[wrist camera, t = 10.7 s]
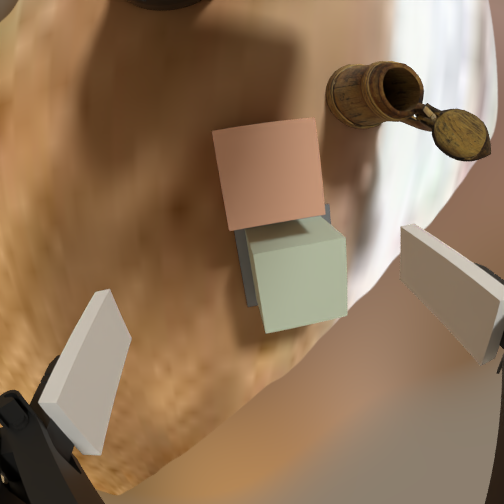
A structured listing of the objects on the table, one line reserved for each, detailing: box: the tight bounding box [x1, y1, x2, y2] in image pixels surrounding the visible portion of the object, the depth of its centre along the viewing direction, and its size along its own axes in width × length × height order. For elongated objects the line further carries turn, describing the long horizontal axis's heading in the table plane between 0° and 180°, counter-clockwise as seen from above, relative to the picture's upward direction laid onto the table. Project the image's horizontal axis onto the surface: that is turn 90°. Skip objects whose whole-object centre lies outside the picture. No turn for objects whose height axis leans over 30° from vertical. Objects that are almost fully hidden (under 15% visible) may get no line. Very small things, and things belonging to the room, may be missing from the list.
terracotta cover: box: [212, 117, 325, 231], centre depth 35 cm, size 10×10×9 cm
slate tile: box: [234, 204, 331, 307], centre depth 44 cm, size 13×13×1 cm
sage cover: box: [245, 216, 347, 334], centre depth 40 cm, size 10×10×9 cm
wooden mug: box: [326, 61, 491, 161], centre depth 30 cm, size 9×14×18 cm, turn 53°
